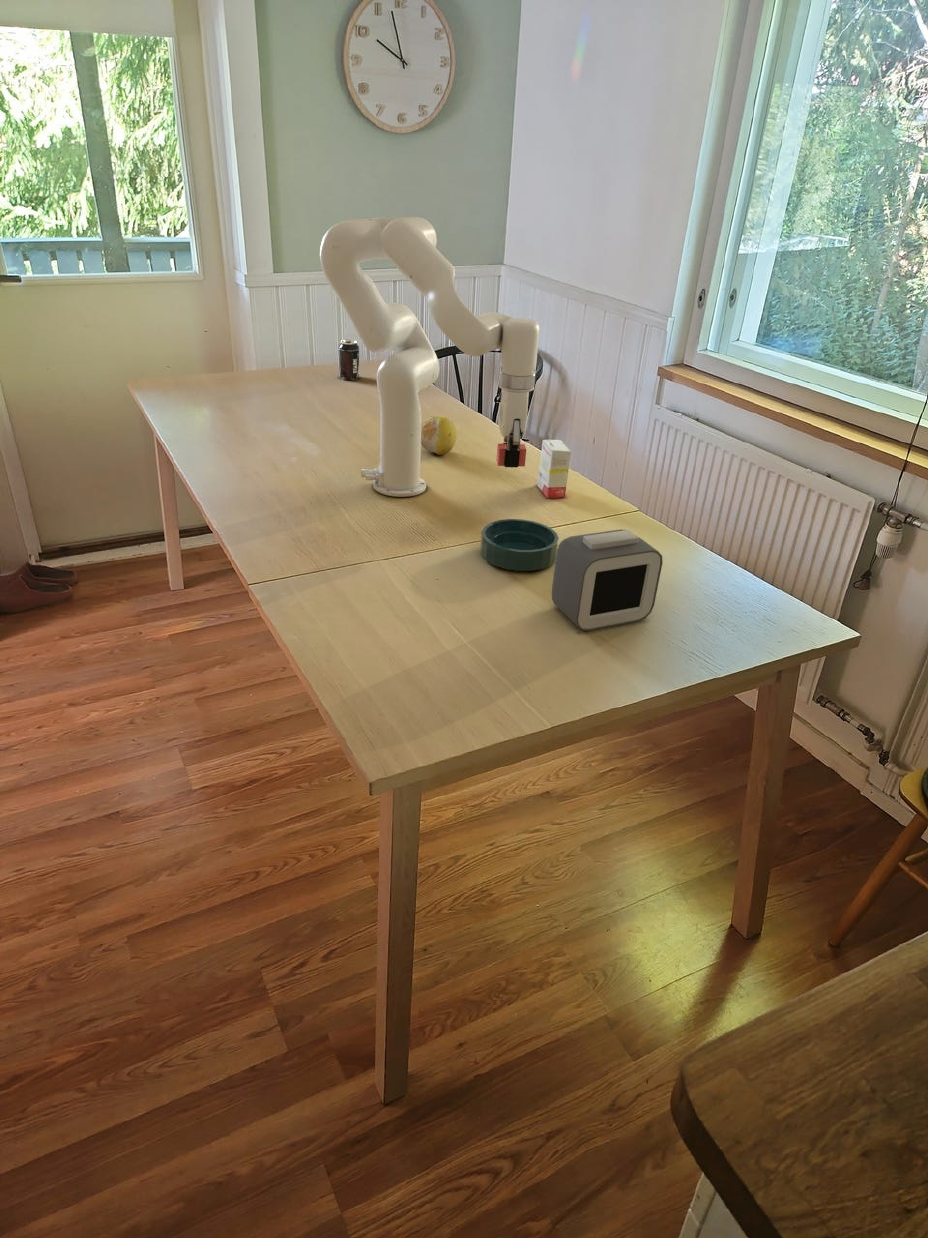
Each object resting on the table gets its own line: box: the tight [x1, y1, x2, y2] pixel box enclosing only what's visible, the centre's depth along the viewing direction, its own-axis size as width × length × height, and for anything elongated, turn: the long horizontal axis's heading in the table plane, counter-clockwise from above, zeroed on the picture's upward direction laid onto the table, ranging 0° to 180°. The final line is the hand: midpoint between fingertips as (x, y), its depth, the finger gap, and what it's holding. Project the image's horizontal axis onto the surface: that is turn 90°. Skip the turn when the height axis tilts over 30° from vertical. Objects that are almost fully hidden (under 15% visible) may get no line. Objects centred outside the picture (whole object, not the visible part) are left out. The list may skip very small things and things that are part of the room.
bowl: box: [479, 518, 560, 572], centre depth 172 cm, size 16×16×5 cm
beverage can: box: [337, 339, 360, 381], centre depth 279 cm, size 7×7×12 cm
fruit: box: [421, 415, 458, 455], centre depth 221 cm, size 10×11×10 cm
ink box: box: [536, 439, 572, 499], centre depth 202 cm, size 9×5×12 cm, turn 12°
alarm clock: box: [550, 529, 663, 632], centre depth 152 cm, size 16×11×16 cm
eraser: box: [495, 443, 527, 467], centre depth 185 cm, size 6×3×4 cm, turn 94°
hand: (510, 462), depth 186 cm, fingers closed on eraser, 3 cm apart
